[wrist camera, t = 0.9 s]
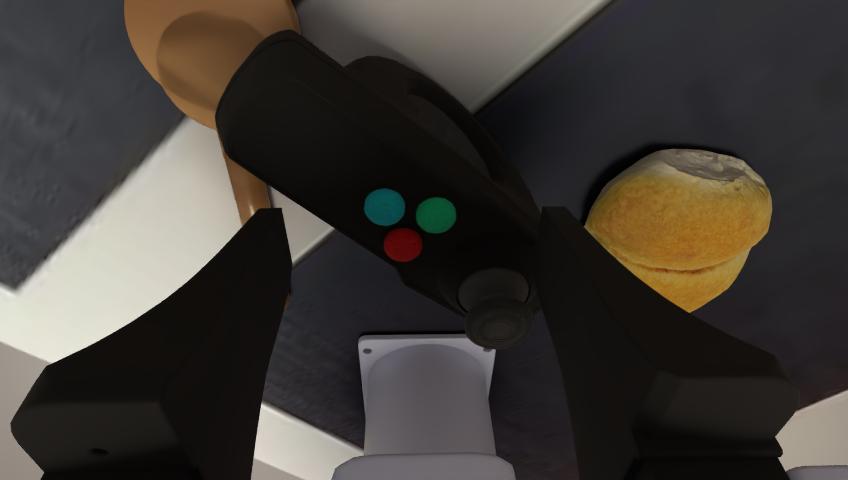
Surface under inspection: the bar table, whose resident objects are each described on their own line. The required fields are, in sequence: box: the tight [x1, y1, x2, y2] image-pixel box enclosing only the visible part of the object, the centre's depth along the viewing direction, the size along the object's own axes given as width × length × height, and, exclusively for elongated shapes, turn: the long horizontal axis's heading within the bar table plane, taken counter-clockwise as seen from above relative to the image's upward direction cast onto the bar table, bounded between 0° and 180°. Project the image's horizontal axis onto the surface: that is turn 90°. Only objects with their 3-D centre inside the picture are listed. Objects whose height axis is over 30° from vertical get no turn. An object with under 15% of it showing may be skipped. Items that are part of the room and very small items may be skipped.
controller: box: [215, 29, 542, 350], centre depth 18 cm, size 4×12×10 cm, turn 48°
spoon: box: [124, 0, 301, 310], centre depth 23 cm, size 17×6×1 cm, turn 179°
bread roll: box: [584, 149, 772, 313], centre depth 25 cm, size 8×9×4 cm
